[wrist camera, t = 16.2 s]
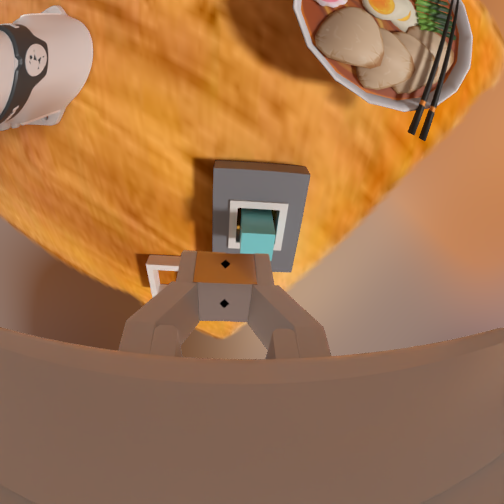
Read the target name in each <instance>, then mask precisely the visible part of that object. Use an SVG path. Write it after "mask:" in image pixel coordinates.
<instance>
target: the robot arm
mask: <svg viewBox="0 0 504 504" xmlns="http://www.w3.org/2000/svg"><path fill="white" fill-rule="evenodd" d="M92 60H93V44H92V39H91V36H90V33H89V31H88V29H87V28H86V27H85V25H84V24H83V23H81V22H80V21H79V20H77V19H74V18H72V17H70V16H68V15H67V14H66V13H65V11H64V10H63V8H62V7H61V6H51V7H50V8H48V9H46V10H45V11H43V12H41V13H37V14H24V15H21V16H20V18H19V19H17V20H16V21H14V22H13V23H12V24H9V23H8V24H1V25H0V131H3V130H7V129H9V128H11V127H12V128H17V127H20V124H21V125H26V124H30V125H55V124H57V123H59V121H60V120H61V118H62V116H63V113H64V111H65V108H66V107H67V105H68V104H69V103H70V102H71V101H72V100H73V99H74V98H75V97H76V95H77V94H78V93H79V92H80V90H81V89H82V87H83V86H84V84H85V82H86V80H87V78H88V75H89V72H90V69H91V65H92ZM47 116H48V119H47ZM223 319H224V321H234V322H248V325H249V326H250V327H251V328H252V330H253V331H254V333H255V334H256V335H257V337H258V338H259V339H260V341H261V342H262V343H263V345H264V346H265V347H266V349H267V350H268V352H267V355H266V359H209V358H188V357H182V352H181V344H182V343H183V342H184V341H185V339H186V338H187V337H188V336H189V334H190V333H191V332H192V331H193V329H194V328H195V327H196V326H197V324H198V323H199V321H223ZM0 504H504V328H497V329H493V330H490V331H486V332H482V333H478V334H474V335H470V336H466V337H461V338H457V339H452V340H447V341H442V342H437V343H432V344H426V345H420V346H414V347H408V348H402V349H394V350H388V351H379V352H372V353H362V354H352V355H342V356H331V353H330V349H329V345H328V341H327V338H326V334H325V330H324V328H323V326H322V325H321V324H320V323H319V322H318V321H316V320H315V319H314V318H313V317H312V316H311V315H310V314H309V313H308V312H307V311H306V310H304V309H303V308H302V307H301V306H300V305H299V304H298V303H297V302H296V301H295V300H294V299H292V298H291V297H290V296H289V295H288V294H287V293H286V292H285V291H284V290H283V289H282V288H281V287H279V286H275V285H274V280H273V274H272V269H271V263H270V257H269V255H268V254H258V253H254V254H243V253H223V252H207V251H198V252H197V251H189V250H183V252H182V254H181V259H180V264H179V269H178V274H177V279H176V282H171V283H170V284H169V285H167V286H166V287H165V288H164V289H163V290H161V291H160V292H159V293H158V294H157V295H156V296H154V297H153V298H152V299H151V300H150V301H149V302H147V303H146V304H145V305H144V306H143V307H142V308H140V309H139V310H138V311H137V312H136V313H135V314H134V315H132V316H131V317H130V318H129V319H128V320H127V321H126V324H125V328H124V332H123V335H122V339H121V342H120V346H119V350H118V351H116V350H108V349H101V348H94V347H89V346H82V345H77V344H71V343H66V342H61V341H55V340H51V339H46V338H42V337H37V336H33V335H29V334H24V333H20V332H17V331H12V330H9V329H5V328H2V327H0Z"/></svg>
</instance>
